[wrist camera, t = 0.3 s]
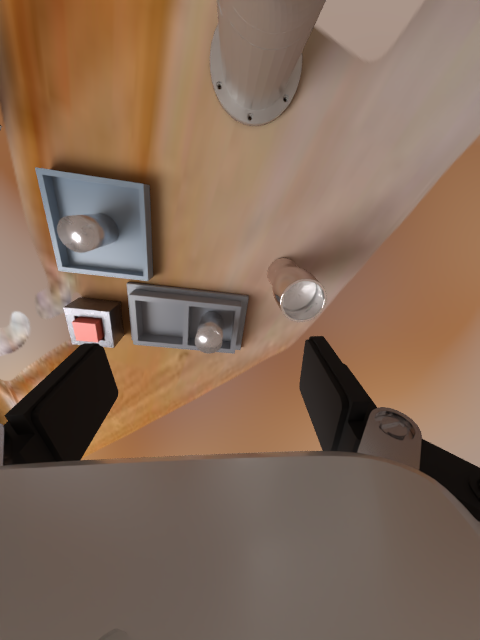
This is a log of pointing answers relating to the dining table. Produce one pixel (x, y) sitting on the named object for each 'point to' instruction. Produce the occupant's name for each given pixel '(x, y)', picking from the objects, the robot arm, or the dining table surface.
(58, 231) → the billet
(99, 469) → the robot arm
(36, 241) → the dining table surface
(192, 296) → the grey divided tray
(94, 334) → the button
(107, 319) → the box
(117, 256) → the tray
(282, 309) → the beer glass
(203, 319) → the seated billet
